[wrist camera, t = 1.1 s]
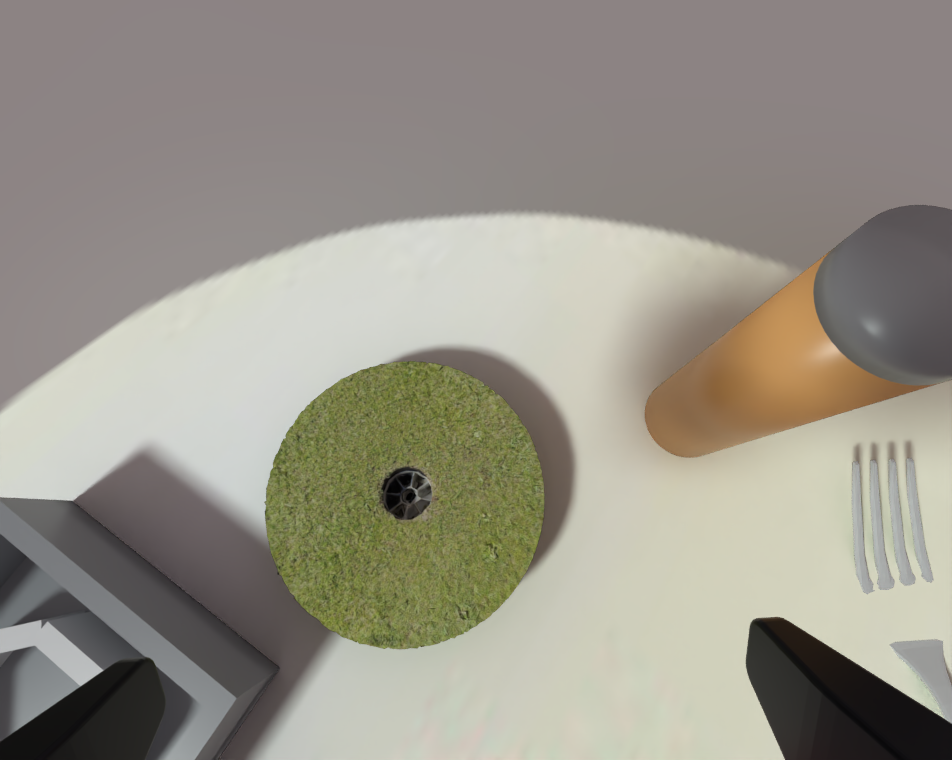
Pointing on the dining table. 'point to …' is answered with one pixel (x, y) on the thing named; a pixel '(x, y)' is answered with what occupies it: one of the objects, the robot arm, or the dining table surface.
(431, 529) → the olive green flat disc
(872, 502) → the fork
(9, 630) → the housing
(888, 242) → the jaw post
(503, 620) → the dining table surface
